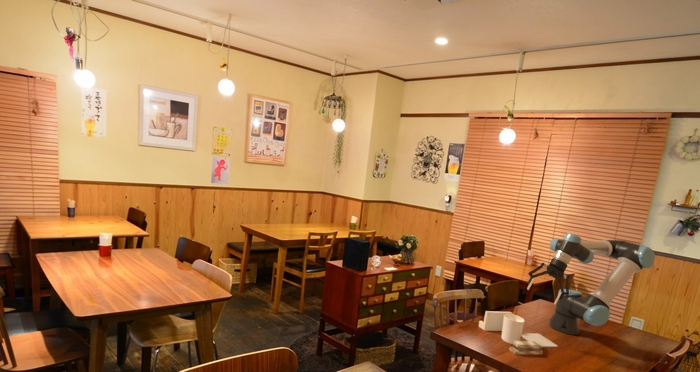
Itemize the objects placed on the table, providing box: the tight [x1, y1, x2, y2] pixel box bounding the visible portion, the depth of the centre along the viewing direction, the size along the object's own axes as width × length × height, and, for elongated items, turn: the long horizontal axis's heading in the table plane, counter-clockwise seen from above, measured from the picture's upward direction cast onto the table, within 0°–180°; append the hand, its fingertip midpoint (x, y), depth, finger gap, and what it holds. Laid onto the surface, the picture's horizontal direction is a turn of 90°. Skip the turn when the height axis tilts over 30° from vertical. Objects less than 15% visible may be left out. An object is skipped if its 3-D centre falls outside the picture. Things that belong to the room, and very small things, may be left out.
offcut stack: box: [508, 340, 544, 355], centre depth 176 cm, size 16×5×4 cm, turn 106°
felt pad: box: [521, 332, 559, 348], centre depth 192 cm, size 13×13×1 cm
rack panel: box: [478, 310, 514, 332], centre depth 199 cm, size 16×5×10 cm, turn 106°
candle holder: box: [500, 314, 526, 345], centre depth 186 cm, size 10×10×12 cm
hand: (540, 296), depth 190 cm, fingers open, 13 cm apart
